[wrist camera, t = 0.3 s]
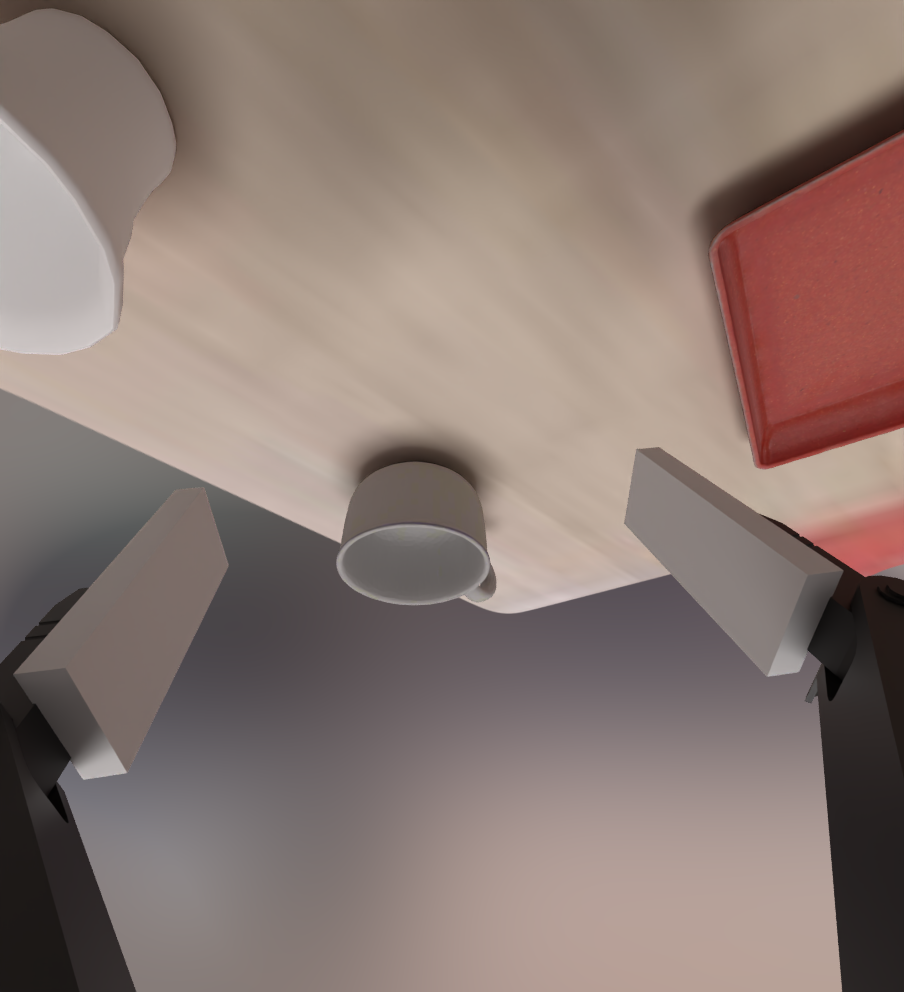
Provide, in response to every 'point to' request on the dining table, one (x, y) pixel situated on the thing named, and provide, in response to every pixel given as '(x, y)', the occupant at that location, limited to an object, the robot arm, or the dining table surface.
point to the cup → (71, 177)
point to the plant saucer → (818, 308)
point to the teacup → (416, 537)
